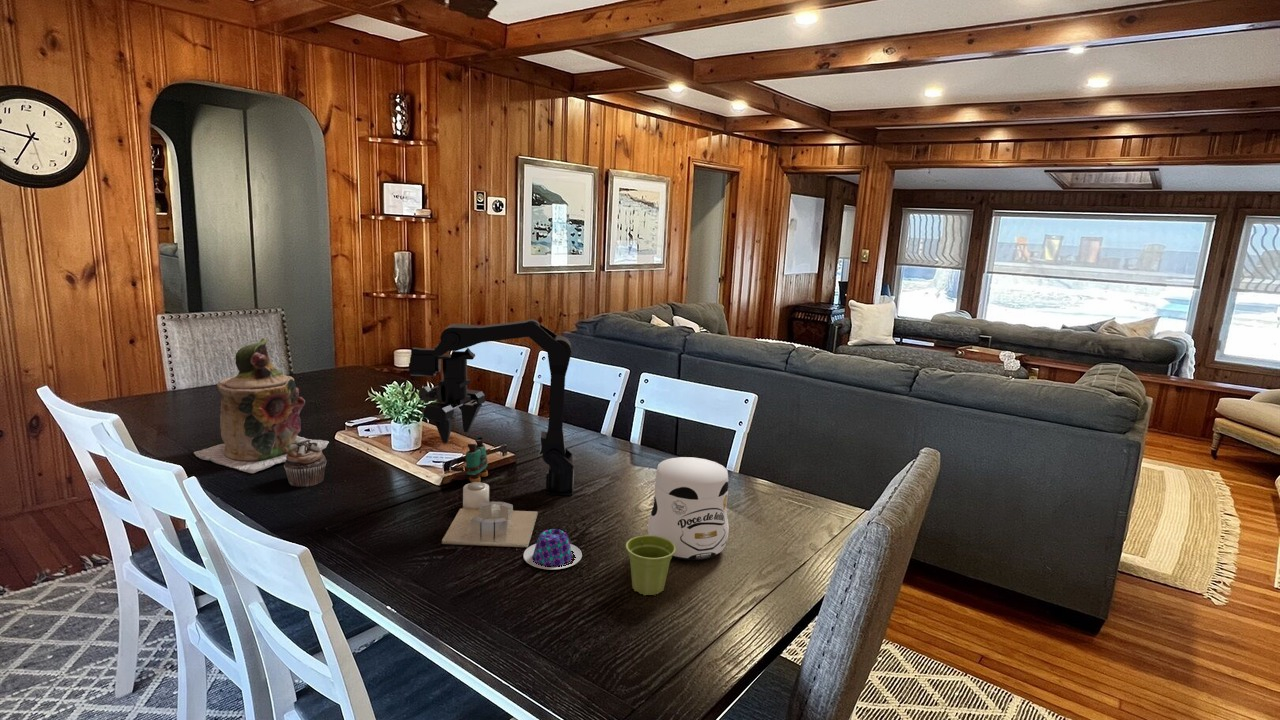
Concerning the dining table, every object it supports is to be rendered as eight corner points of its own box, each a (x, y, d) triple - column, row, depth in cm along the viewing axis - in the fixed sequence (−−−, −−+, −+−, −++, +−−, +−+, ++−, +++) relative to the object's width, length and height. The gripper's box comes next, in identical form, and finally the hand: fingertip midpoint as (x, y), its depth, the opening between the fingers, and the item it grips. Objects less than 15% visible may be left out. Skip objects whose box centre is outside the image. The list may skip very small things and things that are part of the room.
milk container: (704, 576, 133) (711, 492, 130) (631, 550, 142) (636, 471, 138) (739, 544, 148) (746, 467, 144) (671, 522, 156) (676, 449, 153)
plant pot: (622, 575, 132) (624, 534, 130) (669, 575, 133) (672, 535, 131) (625, 601, 123) (627, 558, 121) (675, 601, 124) (678, 558, 122)
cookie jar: (189, 458, 178) (179, 340, 172) (270, 434, 201) (264, 329, 194) (255, 476, 169) (247, 352, 163) (332, 448, 192) (328, 339, 185)
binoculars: (456, 434, 180) (491, 435, 178) (460, 472, 182) (494, 473, 180) (440, 445, 171) (476, 445, 169) (444, 484, 173) (480, 485, 171)
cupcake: (276, 482, 166) (273, 444, 164) (310, 471, 175) (309, 434, 173) (301, 491, 162) (299, 452, 160) (335, 479, 170) (334, 441, 168)
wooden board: (537, 514, 156) (537, 498, 156) (527, 547, 141) (528, 529, 140) (460, 511, 156) (460, 495, 155) (441, 543, 140) (441, 526, 139)
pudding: (553, 538, 146) (554, 516, 145) (593, 557, 139) (594, 534, 138) (511, 558, 137) (511, 534, 136) (552, 579, 129) (552, 554, 128)
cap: (491, 502, 162) (491, 481, 161) (486, 512, 156) (486, 490, 155) (466, 501, 162) (466, 479, 161) (460, 511, 156) (460, 489, 155)
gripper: (448, 365, 173) (449, 423, 176) (402, 380, 156) (404, 444, 159) (486, 370, 170) (486, 428, 173) (443, 386, 152) (444, 451, 156)
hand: (455, 437), depth 165 cm, fingers open, 9 cm apart
